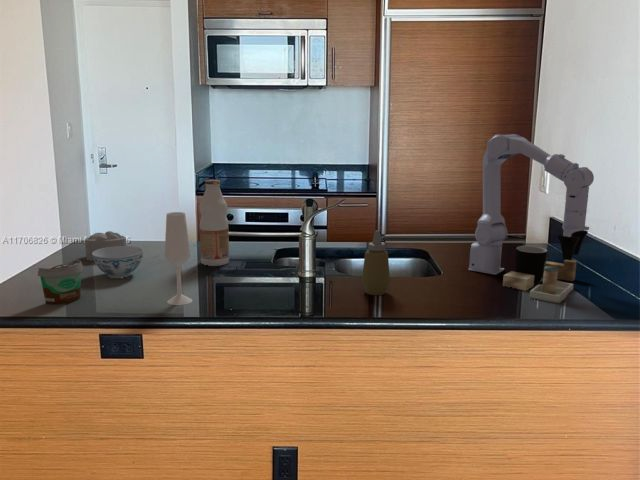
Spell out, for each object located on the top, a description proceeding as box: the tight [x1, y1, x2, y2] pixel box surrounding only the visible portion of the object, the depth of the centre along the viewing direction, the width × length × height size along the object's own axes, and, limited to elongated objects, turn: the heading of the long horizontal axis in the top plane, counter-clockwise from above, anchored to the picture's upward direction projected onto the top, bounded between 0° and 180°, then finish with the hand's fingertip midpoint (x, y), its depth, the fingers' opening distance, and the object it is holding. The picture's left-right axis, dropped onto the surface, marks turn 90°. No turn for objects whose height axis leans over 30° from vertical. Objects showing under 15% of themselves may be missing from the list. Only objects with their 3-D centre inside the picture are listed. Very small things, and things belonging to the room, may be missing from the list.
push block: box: [502, 270, 535, 292], centre depth 174 cm, size 7×6×4 cm
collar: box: [556, 280, 574, 295], centre depth 171 cm, size 6×6×2 cm
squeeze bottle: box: [361, 230, 391, 296], centre depth 165 cm, size 8×8×18 cm
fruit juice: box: [198, 179, 230, 267], centre depth 194 cm, size 9×9×28 cm
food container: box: [37, 258, 84, 305], centre depth 157 cm, size 12×6×10 cm, turn 148°
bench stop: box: [543, 259, 578, 282], centre depth 185 cm, size 17×3×6 cm, turn 54°
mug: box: [515, 245, 548, 285], centre depth 180 cm, size 12×9×10 cm
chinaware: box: [92, 245, 144, 279], centre depth 181 cm, size 15×15×8 cm
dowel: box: [542, 266, 558, 295], centre depth 163 cm, size 4×4×8 cm
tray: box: [528, 283, 568, 304], centre depth 164 cm, size 8×8×2 cm
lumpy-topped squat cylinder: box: [84, 230, 127, 261], centre depth 203 cm, size 10×13×9 cm
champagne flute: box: [164, 211, 193, 306], centre depth 155 cm, size 7×7×24 cm
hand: (570, 257), depth 169 cm, fingers open, 7 cm apart
